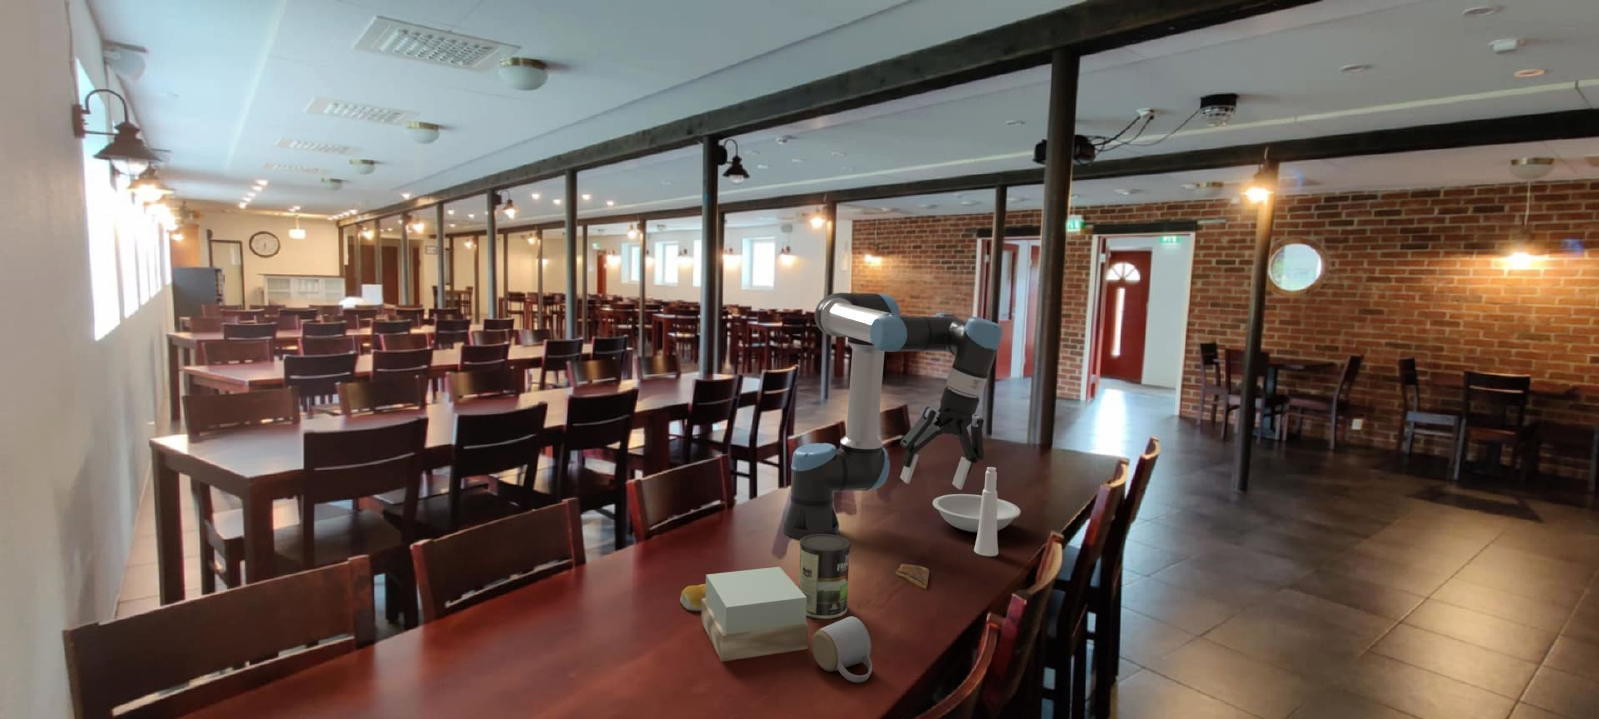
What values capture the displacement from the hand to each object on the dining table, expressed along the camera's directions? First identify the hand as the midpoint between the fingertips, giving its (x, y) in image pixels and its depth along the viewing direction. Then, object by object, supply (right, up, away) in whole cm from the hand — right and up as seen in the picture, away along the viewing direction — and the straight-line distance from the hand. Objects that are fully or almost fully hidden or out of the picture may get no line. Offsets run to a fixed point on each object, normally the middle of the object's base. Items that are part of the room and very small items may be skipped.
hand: (931, 483), depth 155 cm
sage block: (-37, -21, -19) cm, 46 cm away
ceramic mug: (-20, -27, -29) cm, 45 cm away
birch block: (-37, -26, -19) cm, 49 cm away
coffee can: (-23, -25, -6) cm, 35 cm away
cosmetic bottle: (+20, -23, +30) cm, 43 cm away
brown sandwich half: (0, -24, +12) cm, 27 cm away
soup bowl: (+21, -21, +49) cm, 57 cm away
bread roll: (-48, -24, -6) cm, 54 cm away
